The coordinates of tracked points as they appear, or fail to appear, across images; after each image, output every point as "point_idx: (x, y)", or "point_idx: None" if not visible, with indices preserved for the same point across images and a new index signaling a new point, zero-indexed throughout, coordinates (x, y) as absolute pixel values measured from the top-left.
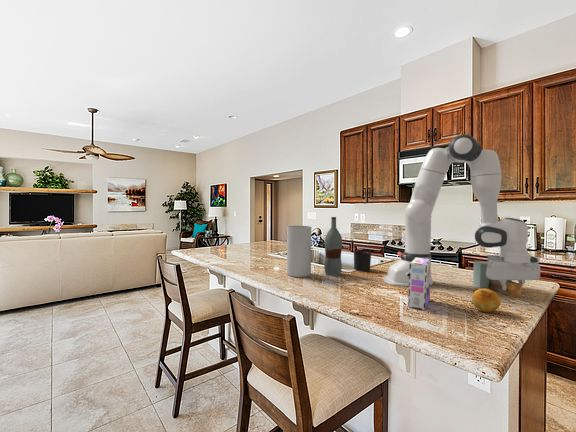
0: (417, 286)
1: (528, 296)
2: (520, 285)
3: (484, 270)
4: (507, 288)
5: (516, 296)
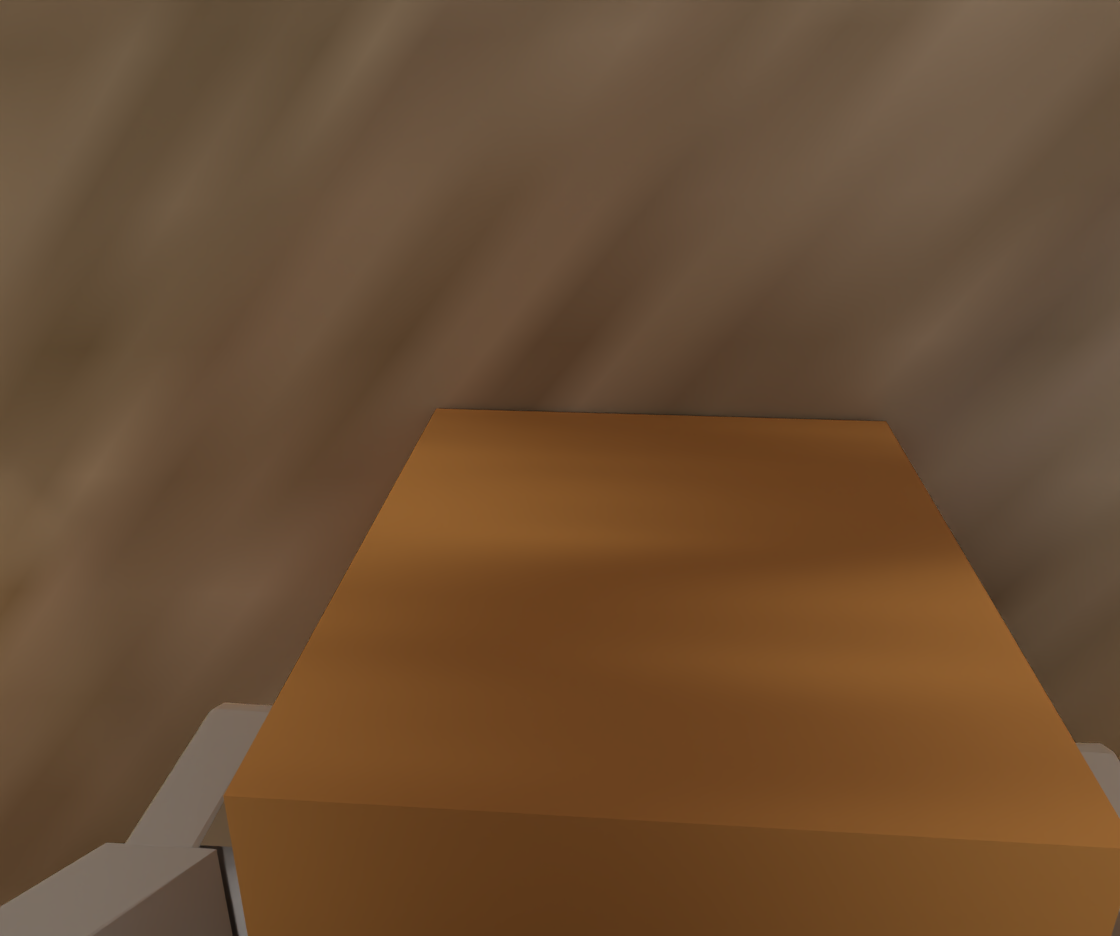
0: None
1: (88, 452)
2: (352, 749)
3: None
4: None
5: (648, 417)
